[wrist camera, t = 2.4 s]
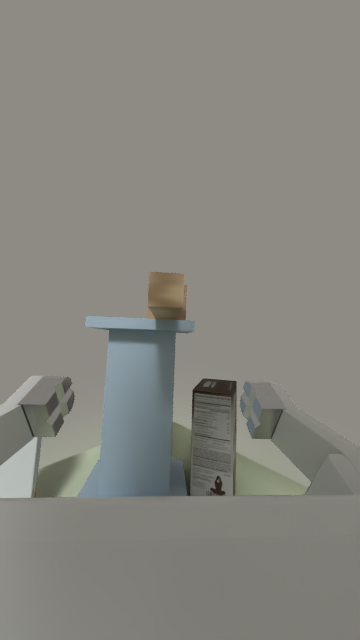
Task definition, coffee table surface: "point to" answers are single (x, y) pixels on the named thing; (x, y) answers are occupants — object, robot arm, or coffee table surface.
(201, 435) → the coffee box
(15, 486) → the skincare box
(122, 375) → the stand
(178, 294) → the tan block
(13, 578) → the robot arm
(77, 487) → the coffee table surface
